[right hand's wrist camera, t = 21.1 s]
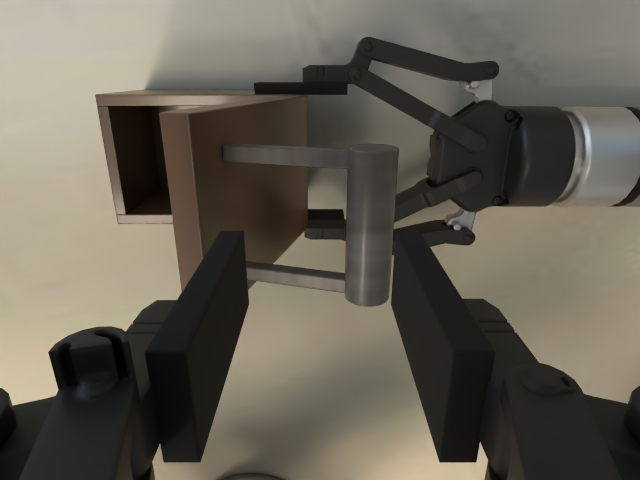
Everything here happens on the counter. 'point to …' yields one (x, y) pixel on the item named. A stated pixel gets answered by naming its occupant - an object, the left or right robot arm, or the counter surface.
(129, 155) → the chest
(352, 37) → the counter surface
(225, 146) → the lid
